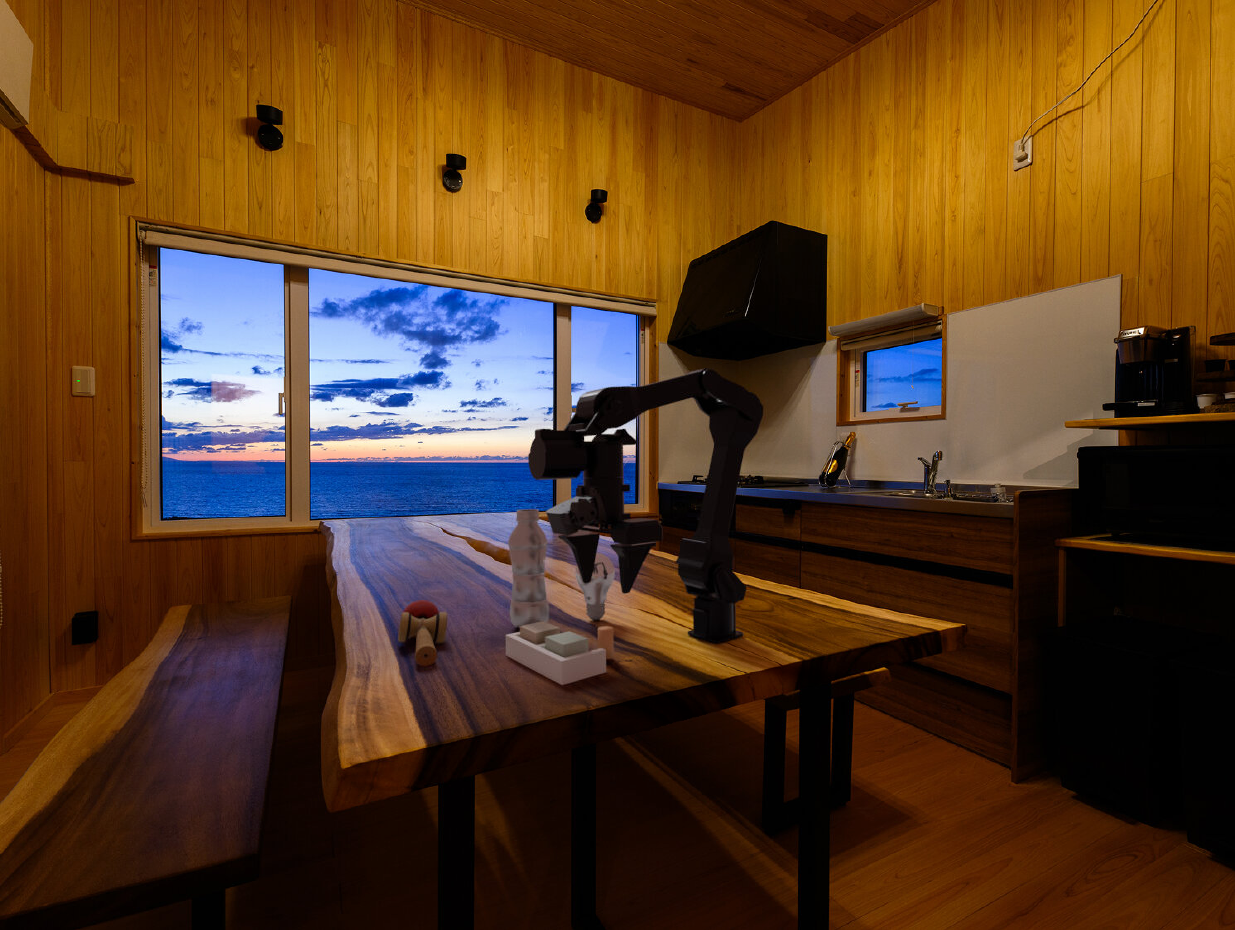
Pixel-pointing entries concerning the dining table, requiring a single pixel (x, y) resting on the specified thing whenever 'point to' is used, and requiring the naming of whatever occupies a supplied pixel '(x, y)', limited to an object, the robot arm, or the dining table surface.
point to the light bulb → (597, 586)
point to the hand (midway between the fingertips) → (605, 587)
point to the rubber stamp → (579, 643)
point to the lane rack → (555, 660)
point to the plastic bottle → (528, 570)
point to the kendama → (423, 629)
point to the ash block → (538, 632)
